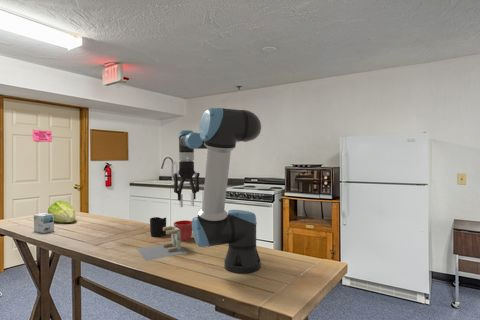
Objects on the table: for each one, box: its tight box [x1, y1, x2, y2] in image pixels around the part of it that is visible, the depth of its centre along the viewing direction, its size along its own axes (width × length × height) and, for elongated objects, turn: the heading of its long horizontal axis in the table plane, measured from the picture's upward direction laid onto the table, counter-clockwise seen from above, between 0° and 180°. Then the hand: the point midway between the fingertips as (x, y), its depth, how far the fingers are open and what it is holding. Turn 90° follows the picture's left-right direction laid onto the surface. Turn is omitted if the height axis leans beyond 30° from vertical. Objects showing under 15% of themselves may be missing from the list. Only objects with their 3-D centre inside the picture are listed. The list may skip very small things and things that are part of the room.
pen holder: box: [149, 216, 167, 238], centre depth 175 cm, size 9×9×10 cm
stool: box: [162, 225, 182, 252], centre depth 147 cm, size 10×6×10 cm, turn 29°
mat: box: [136, 244, 189, 261], centre depth 144 cm, size 20×20×1 cm
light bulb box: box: [33, 212, 55, 234], centre depth 185 cm, size 11×7×11 cm, turn 63°
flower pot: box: [173, 219, 193, 242], centre depth 165 cm, size 11×11×10 cm
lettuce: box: [47, 200, 76, 224], centre depth 214 cm, size 15×24×16 cm
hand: (186, 206), depth 151 cm, fingers open, 5 cm apart
